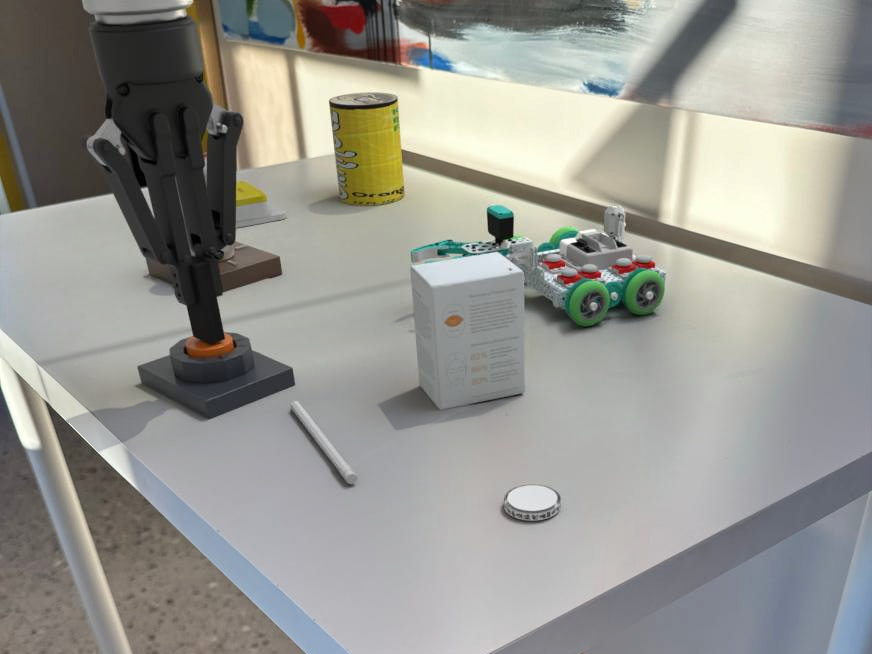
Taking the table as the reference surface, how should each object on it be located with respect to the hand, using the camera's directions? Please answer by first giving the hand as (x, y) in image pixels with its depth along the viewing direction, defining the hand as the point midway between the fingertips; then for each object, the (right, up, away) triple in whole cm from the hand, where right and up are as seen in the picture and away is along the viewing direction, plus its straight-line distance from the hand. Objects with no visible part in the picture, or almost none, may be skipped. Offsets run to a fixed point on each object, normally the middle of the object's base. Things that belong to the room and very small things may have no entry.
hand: (209, 337), depth 84 cm
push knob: (0, -2, +1) cm, 2 cm away
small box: (+23, -5, +1) cm, 23 cm away
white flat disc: (+27, -17, -15) cm, 35 cm away
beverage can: (+9, +35, +51) cm, 62 cm away
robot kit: (+30, +9, +17) cm, 35 cm away
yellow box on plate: (-10, +29, +44) cm, 53 cm away
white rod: (+11, -11, -7) cm, 17 cm away
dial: (-7, +17, +25) cm, 31 cm away
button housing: (0, -3, +3) cm, 4 cm away
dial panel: (-7, +15, +27) cm, 31 cm away
